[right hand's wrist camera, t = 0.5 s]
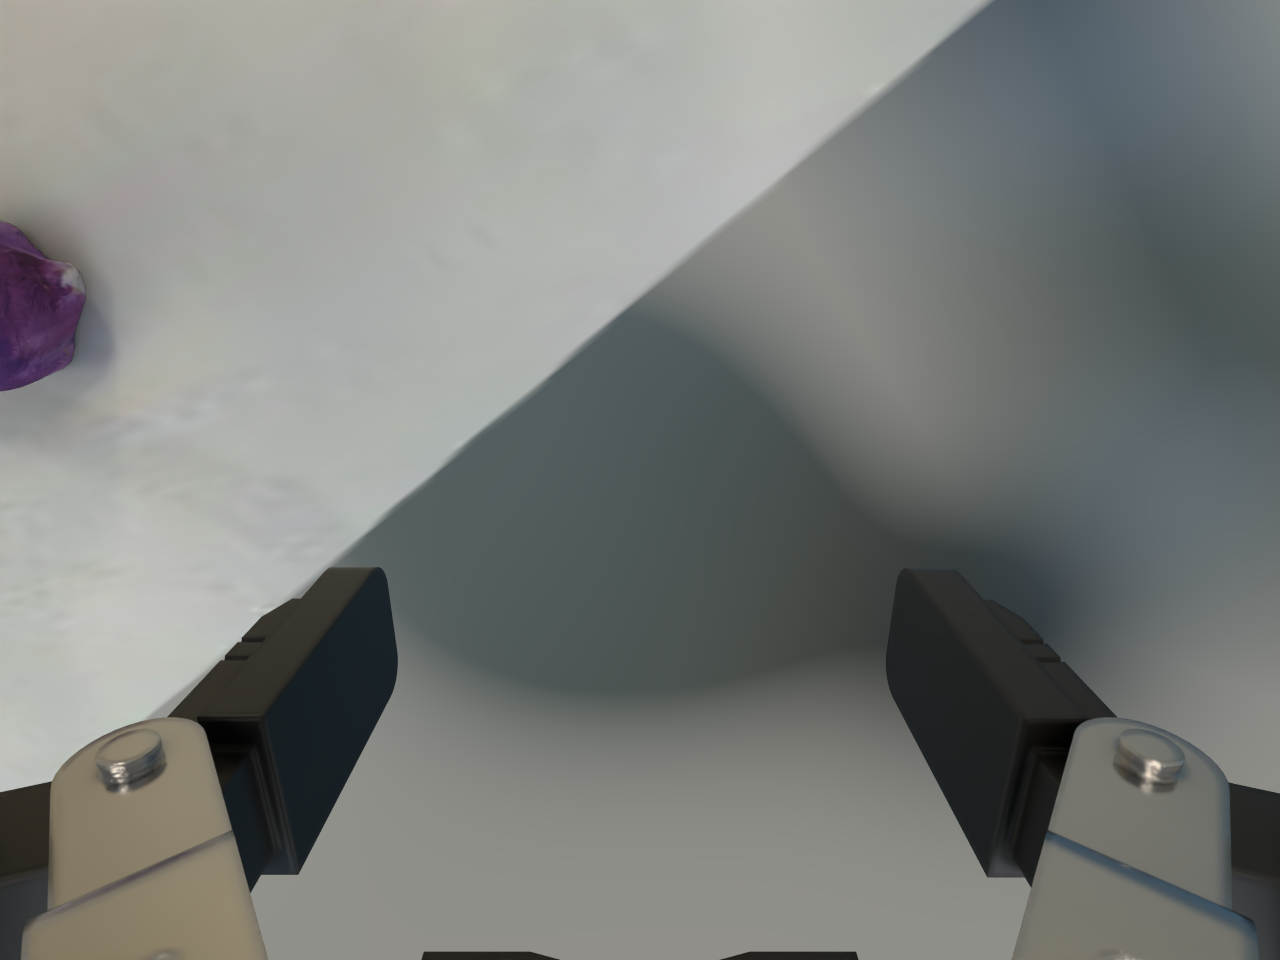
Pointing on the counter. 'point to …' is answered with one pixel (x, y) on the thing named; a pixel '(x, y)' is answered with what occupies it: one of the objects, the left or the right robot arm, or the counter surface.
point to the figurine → (35, 311)
